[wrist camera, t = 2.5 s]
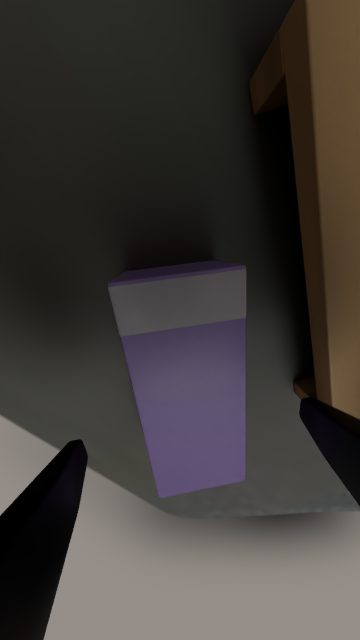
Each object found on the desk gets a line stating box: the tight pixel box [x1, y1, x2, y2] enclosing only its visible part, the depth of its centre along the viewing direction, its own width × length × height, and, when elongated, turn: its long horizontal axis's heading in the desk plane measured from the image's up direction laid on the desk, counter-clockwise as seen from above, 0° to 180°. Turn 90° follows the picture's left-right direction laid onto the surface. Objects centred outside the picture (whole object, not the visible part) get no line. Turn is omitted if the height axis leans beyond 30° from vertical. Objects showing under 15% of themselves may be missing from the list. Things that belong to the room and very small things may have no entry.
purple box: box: [108, 260, 246, 498], centre depth 11 cm, size 5×12×4 cm, turn 6°
